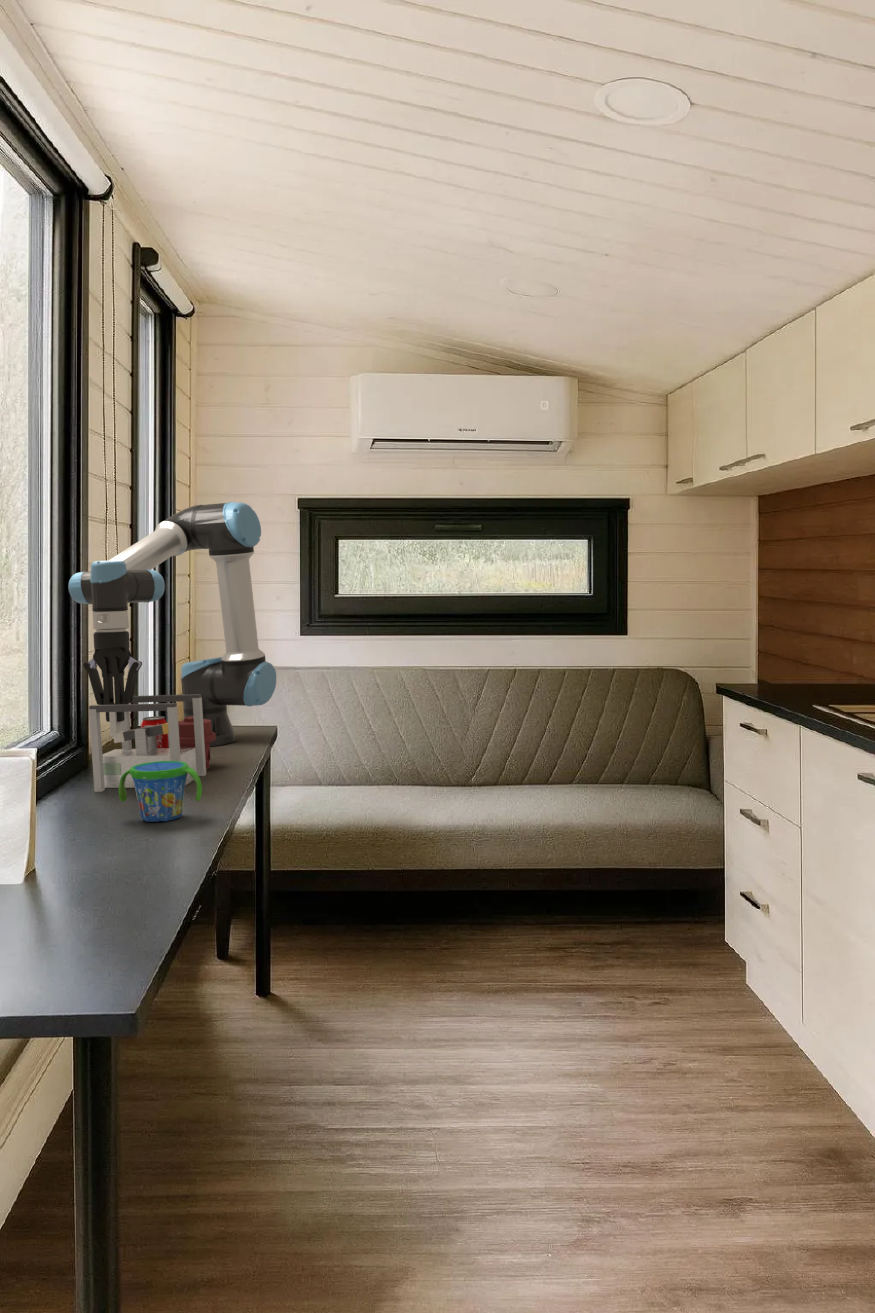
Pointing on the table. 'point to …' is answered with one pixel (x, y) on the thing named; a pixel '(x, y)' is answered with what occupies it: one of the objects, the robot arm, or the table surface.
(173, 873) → the table surface
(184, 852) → the table surface
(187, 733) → the mechanical component
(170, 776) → the snack cup
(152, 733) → the lever
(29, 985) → the table surface
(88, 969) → the table surface
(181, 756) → the grey box
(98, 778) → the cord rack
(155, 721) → the soda can
